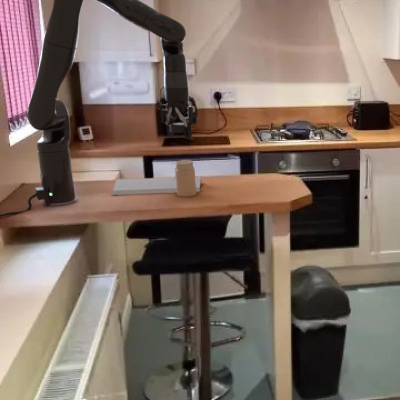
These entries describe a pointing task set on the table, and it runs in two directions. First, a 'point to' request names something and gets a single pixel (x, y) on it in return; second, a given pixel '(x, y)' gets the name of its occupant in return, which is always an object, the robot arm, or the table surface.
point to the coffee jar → (185, 178)
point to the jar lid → (177, 127)
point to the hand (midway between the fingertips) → (179, 137)
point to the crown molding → (149, 186)
